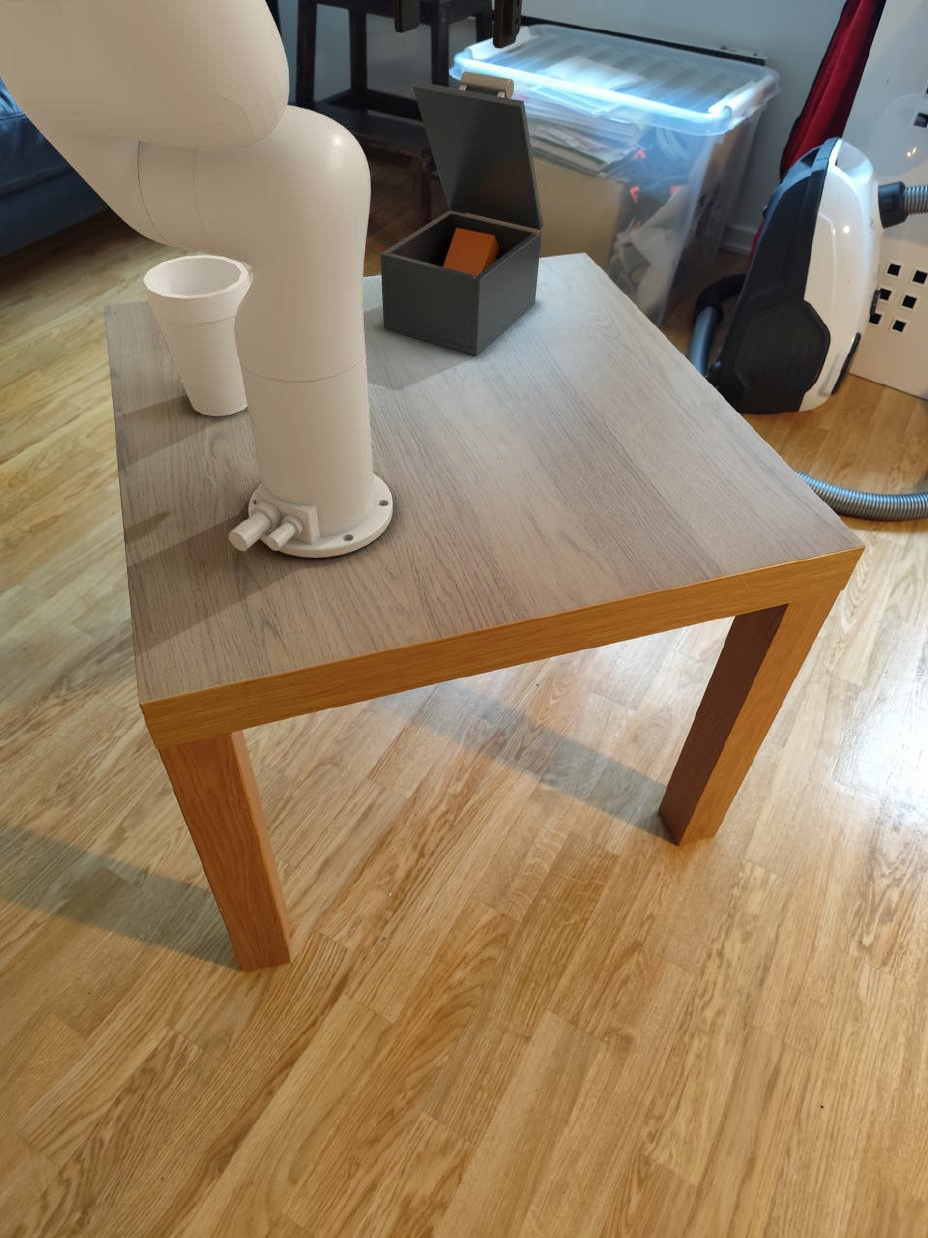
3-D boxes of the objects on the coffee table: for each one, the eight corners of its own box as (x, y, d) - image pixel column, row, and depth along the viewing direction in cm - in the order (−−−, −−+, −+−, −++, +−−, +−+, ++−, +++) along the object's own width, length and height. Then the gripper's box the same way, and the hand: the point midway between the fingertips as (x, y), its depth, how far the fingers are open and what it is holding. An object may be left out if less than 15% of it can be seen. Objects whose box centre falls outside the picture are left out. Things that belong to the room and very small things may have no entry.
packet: (494, 235, 97) (499, 248, 100) (456, 227, 98) (462, 240, 101) (472, 298, 97) (478, 310, 100) (434, 289, 98) (441, 301, 101)
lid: (520, 106, 81) (542, 68, 82) (412, 86, 85) (434, 50, 86) (540, 230, 96) (558, 196, 97) (448, 208, 100) (466, 176, 101)
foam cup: (166, 387, 87) (134, 264, 78) (251, 369, 90) (230, 248, 81) (189, 433, 81) (157, 305, 72) (279, 411, 84) (259, 287, 75)
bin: (476, 356, 94) (479, 279, 87) (383, 328, 98) (380, 253, 91) (535, 304, 103) (541, 231, 97) (448, 280, 107) (449, 210, 101)
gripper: (330, -255, 59) (347, 31, 72) (546, -249, 54) (525, 60, 66) (386, -251, 64) (393, 17, 76) (591, -245, 58) (563, 43, 71)
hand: (454, 37), depth 71 cm, fingers open, 9 cm apart
